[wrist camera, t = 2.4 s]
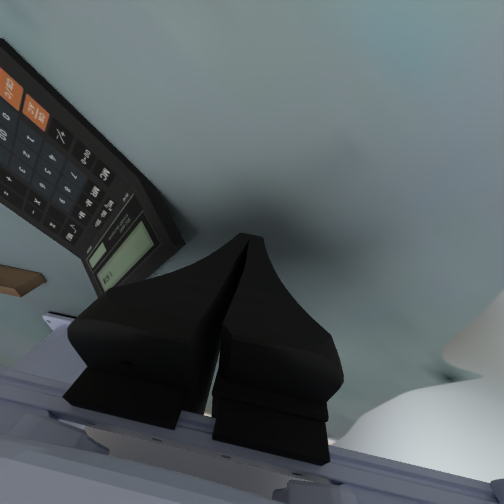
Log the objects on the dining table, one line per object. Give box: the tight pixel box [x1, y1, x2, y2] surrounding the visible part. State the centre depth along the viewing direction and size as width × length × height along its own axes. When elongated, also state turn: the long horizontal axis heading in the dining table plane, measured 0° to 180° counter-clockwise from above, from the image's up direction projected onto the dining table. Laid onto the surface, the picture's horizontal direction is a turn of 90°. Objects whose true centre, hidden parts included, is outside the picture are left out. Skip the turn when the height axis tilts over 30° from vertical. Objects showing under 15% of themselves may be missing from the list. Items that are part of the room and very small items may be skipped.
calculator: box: [0, 38, 186, 298], centre depth 11 cm, size 9×12×3 cm
